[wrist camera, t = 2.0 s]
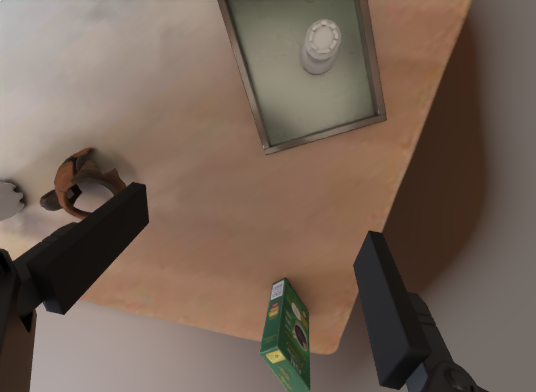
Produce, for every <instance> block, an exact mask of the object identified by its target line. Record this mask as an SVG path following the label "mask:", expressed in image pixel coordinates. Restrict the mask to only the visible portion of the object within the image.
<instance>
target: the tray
mask: <svg viewBox="0 0 536 392" xmlns="http://www.w3.org/2000/svg"><path fill="white" fill-rule="evenodd" d="M354 1H355V2H354ZM218 4H219V7H220V10H221V13H222V16H223V20H224V23H225V26H226V29H227V33H228V36H229V39H230V42H231V45H232V49H233V52H234V55H235V58H236V61H237V65H238V68H239V71H240V74H241V78H242V81H243V84H244V87H245V90H246V94H247V97H248V100H249V103H250V107H251V110H252V113H253V116H254V119H255V123H256V126H257V129H258V132H259V136H260V139H261V142H262V145H263V148H264V151H265V155H268V154H272V153H275V152H279V151H282V150H285V149H289V148H292V147H296V146H299V145H303V144H306V143H310V142H313V141H317V140H320V139H323V138H327V137H330V136H334V135H337V134H341V133H344V132H348V131H351V130H354V129H358V128H361V127H365V126H368V125H372V124H375V123H379V122H382V121H386V120H387V118H386V114H385V113H386V111H385V105H384V99H383V93H382V87H381V81H380V74H379V68H378V62H377V56H376V50H375V44H374V38H373V32H372V25H371V19H370V13H369V7H368V1H367V0H218ZM355 7H356V8H355ZM230 9H231V10H230ZM357 18H358V19H357ZM233 19H234V20H233ZM322 19H328V20H331V21H333V22H334V23H335V24H336V25H337V26H338V27H339V30H340V33H341V43H340V45H339V48H338V57H337V59H336V62H335V64H334V65H333V66H332V67H331V69H330V70H328V71H326V72H324V73H322V74H313V73H310V72H308V71H307V70H306V69H305V68H304V67H303V66H302V64H301V61H300V48H301V45H302V42H303V40H304V39H305V36H306V34H307V31H308V29H309V28H310V26H311V25H312V24H313V23H315V22H316V21H318V20H322ZM358 24H359V25H358ZM361 41H362V42H361ZM364 58H365V59H364ZM367 75H368V76H367ZM368 81H369V82H368ZM370 92H371V93H370ZM371 98H372V99H371ZM258 102H259V103H258ZM373 109H374V110H373ZM261 112H262V113H261ZM374 114H375V115H374ZM358 119H359V120H358ZM264 122H265V123H264ZM348 122H349V123H348ZM321 130H322V131H321ZM267 132H268V133H267ZM311 133H312V134H311ZM294 138H295V139H294ZM284 141H285V142H284ZM270 142H271V143H270Z"/></svg>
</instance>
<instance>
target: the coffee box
mask: <svg viewBox="0 0 536 392" xmlns="http://www.w3.org/2000/svg"><path fill="white" fill-rule="evenodd" d="M259 353H260V355H261V356H262V358H263V359H264V360H265V362H266V363H267V364H268V366H269V367H270V368H271V370H272V371H273V372H274V374H275V375H276V376H277V378H278V379H279V380H280V382H281V383H282V384H283V386H284V387H285V388H286V390H287V391H288V392H310V357H309V356H310V355H309V313H308V311H307V310H306V308H305V306H304V305H303V303H302V302H301V301H300V299H299V298H298V296H297V295H296V293H295V292H294V290H293V288H292V287H291V285H290V284H289V283H288V281H287V280H286V278H284V279H283V280H281V281H279V282H276V283H274V284H273V286H272V291H271V296H270V301H269V306H268V311H267V317H266V322H265V327H264V332H263V337H262V342H261V347H260V352H259Z"/></svg>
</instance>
